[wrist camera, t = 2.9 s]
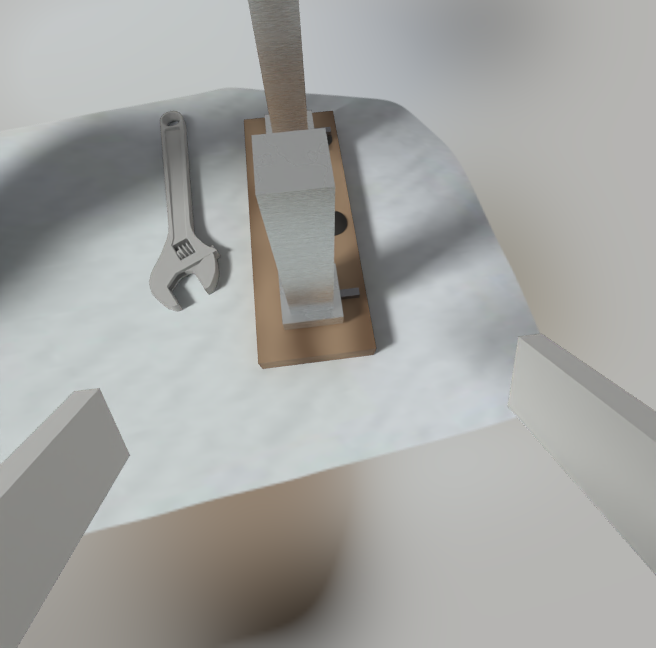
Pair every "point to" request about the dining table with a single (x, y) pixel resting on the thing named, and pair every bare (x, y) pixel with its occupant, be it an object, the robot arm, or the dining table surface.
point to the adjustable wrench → (180, 222)
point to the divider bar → (357, 326)
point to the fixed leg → (281, 64)
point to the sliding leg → (300, 224)
